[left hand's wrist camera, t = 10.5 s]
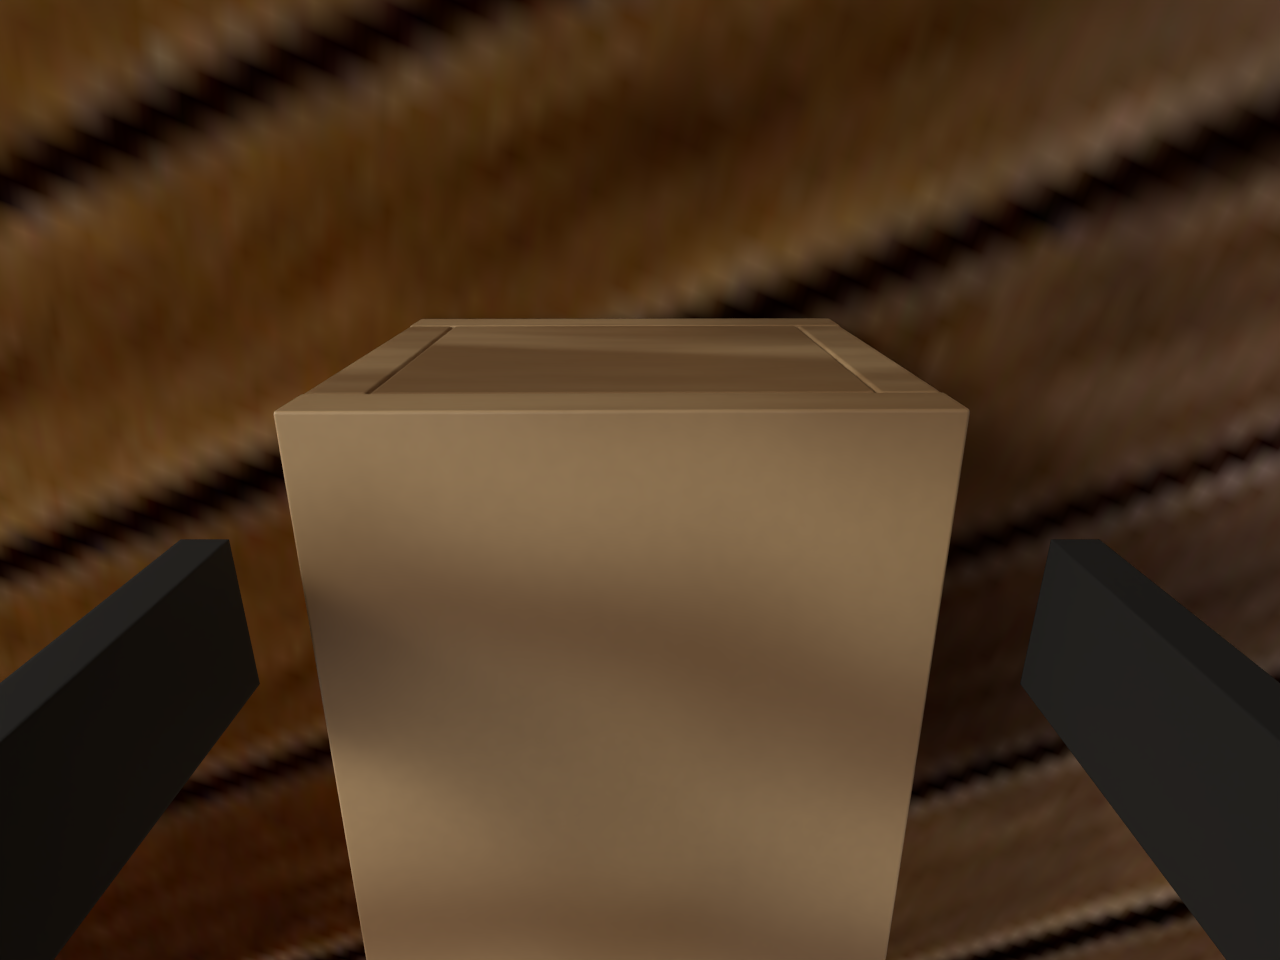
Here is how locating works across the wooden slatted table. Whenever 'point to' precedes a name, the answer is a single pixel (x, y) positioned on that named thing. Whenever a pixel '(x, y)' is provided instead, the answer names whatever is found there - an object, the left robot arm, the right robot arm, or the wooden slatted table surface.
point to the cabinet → (623, 632)
